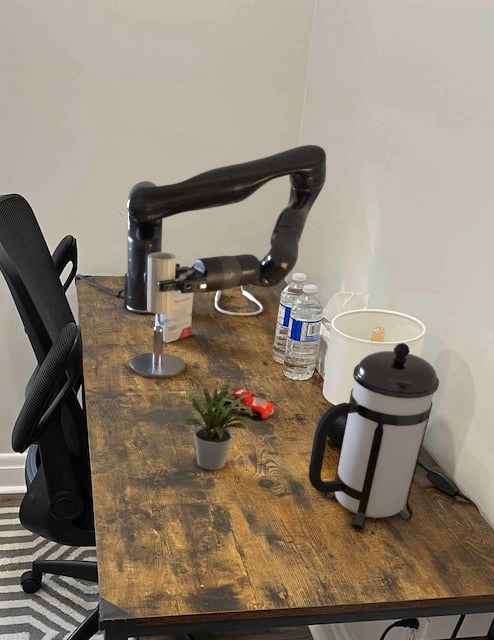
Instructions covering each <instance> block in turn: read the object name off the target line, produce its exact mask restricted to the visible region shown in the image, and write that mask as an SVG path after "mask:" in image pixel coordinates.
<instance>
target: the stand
mask: <svg viewBox="0 0 494 640" xmlns="http://www.w3.org/2000/svg"><path fill="white" fill-rule="evenodd" d="M152 341H153V344H152V349H153V350H152V352H147V353H142V354H138V355H135V356H134V357H133V358H131V360H130V361H129V369H130V370H131V371H132V372H133V373H135V375H139V376H140V377H141V376H142V377H145V378H151V379H167V378H172V377H176V376H179V375H181V374H182V373H183V372H184V371H185V370H186V363H185V362H184V360H183V359H182V358H180V356H179V357H178V356H176V355H175V354H170V353H165V352H163V351H164V350H163V349H164V341H163V328H162V327H161V326H156V327H155V326H154V328H153V339H152Z"/></svg>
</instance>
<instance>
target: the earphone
mask: <svg viewBox="0 0 494 640" xmlns="http://www.w3.org/2000/svg"><path fill="white" fill-rule="evenodd" d="M256 257H257V259H258V260H259V261H260V260H261V259H259V257H258V256H256ZM240 289H241V292H242V295H243V296H244V297H246V298H247V299H248V300H250V301H252V302H254V303H256V305H258V306H259V309H258V310H257V311H251V312H233V311H227V310H224V309H222V308H221V307H219V305H218V303H219V301H220V298H221V296H222V290H218V291H216V294H215V297H214V301H215V302H214V307H215V308H216V310H217V311H218V312H220V313H222V314H225V315H229V316H255V315H259V314H261V313H262V312H263V310H264V307H263V304H262V303H261V302H260V301H259V300H258V299H256V298H255V296H254V295H253V294H251V293H250V292H248V291H247V290H244V289H243V286H240Z"/></svg>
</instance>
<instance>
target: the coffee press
mask: <svg viewBox="0 0 494 640" xmlns="http://www.w3.org/2000/svg"><path fill="white" fill-rule="evenodd" d="M410 352H411V351H410V347H409V345H408V344H406V343H404V342H400V343H397V344H396V345H395V347H394V348H393V350H382V351H377V352H372V353H371V354H368V355H366V356H365V357H363V358H362V359H361V360H360V362H359V363H358V364H356V366H355V367H354V368H353V373H352V377H353V380H354V382H353V387H352V389H351V390H350V396H349V400H348V402H341V403H338V404H336V405H333V406H332V407H330V408H328V409H327V410H326V411H325V412H324V414H323V415H322V416H321V417H320V419H319V421H318V423H317V425H316V428H315V432H314V437H313V442H312V448H311V453H310V460H309V467H308V480H309V483H310V484H311V486H312V487H313V488H314V489H315V490H316V491H317V492H320V493H324V497H325V499H328V500H332V499H334V498H336V499H337V502H339V504H340V505H341V506H342V507H344V508H345V509H346V510H348V511H349V512H351V513H353V514H356V516H355V520H354V523H353V528H355V529H359V530H363V527H364V524H365V521H366V518H374V519H375V518H376V519H380V518H382V519H383V518H389V517H392V516H395V515H396V514H399V516H400V517H401V518H402V519H403V520H404V521H410V520H411V519H412V517H413V510H412V508H411V505H410V503H409V499H410V495H411V491H412V487H413V483H414V479H415V475H416V471H417V467H418V464H419V459H420V455H421V452H422V449H423V445H424V440H425V436H426V432H427V429H428V425H429V420H430V417H431V412H432V410H433V398H434V394H435V393H436V392H437V391H438V388H439V385H440V379H439V378H438V376H437V371H436V369H435V368H434V366H432V364H431V363H430V362H428V361H427V360H426V359H424V358H422V357H420V356H418V355H415V354H412V353H410ZM344 416H346V417H345V421H344V428H343V433H342V439H341V442H340V443H341V444H340V449H339V455H338V460H337V465H336V470H335V475H334V480H330V481H329V480H328V481H324V480H322V470H323V463H324V456H325V451H326V447H327V446H326V445H327V441H328V440H327V439H328V435H329V430H330V429H331V427H332V425H333V423H335V421H336V420H338V419H340V418H341V417H344ZM331 493H334V494H331ZM404 508H406V510H407V512H408V514H409V515H407V514H405V513H404V511H403V509H404Z"/></svg>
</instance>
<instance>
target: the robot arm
mask: <svg viewBox="0 0 494 640" xmlns="http://www.w3.org/2000/svg"><path fill="white" fill-rule="evenodd" d="M286 176H288V177H289V185H290V190H289V198H288V202H287V205H286V206H285V207H284V208H283V209H282V210H281V212H280V213H279V214H278V216H277V218H276V221H275V223H274V226H273V229H272V232H271V235H270V239H269V240H270V241H269V242H270V243H269V244H270V249H269V250H268V251H267V253H266V254H265V255H264V257H262V259H259V258H258V259H259V260H260V261H259V260H258V259H257V257H258V256H256V255H254V254H251V253H244V254H236V255H235V254H234V255H219V256H209V257H202V258H201V257H200V258H197V259H196V260H195V261H194V262H193V264H192V266H191V267H190V266H186V265H185V266H181V264H180V263H176V269H175V281H174V280H165V281H159V282H158V291H159V292H166V291H173V290H174V291H177V292H178V291H181V293H183V294H184V293H193V294H194V293H202V294H203V293H210V292H211V293H212V292H217V291H219V290H220V291H225V290H230V289H232V288H238V287H241V286H242V287H245V286H249V285H250V286H253V287H262V288H272V287H275V286H277V285H280V284H281V283H282V282H283V281H284V280H285V279H286V278H287V276H288V275H289V274H291V272H292V271H293V270H294V268H295V267H296V264H297V262H298V258H299V244H300V242H301V239H302V236H303V233H304V230H305V226H306V223H307V219H308V217H309V214H310V212H311V210H312V208H313V206H314V204H315V202H316V200H317V199H318V198H319V196H320V194H321V192H322V190H323V189H324V185H325V183H326V179H327V153H326V150H325V149H324V148H323V147H321V146H320V145H316V144H305V145H300V146H297V147H292V148H290V149H287V150H284V151H281V152H278V153H274V154H272V155H268V156H264V157H262V158H257V159H254V160H253V159H252V160H249V161H244V162H240V163H235V164H229V165H225V166H220V167H216V168H212V169H209V170H205V171H202V172H200V173H198V174H196V175H193V176H192V177H189V178H187V179H185V180H183V181H179V182H176V183H175V182H174V183H171V184H164V185H157V184H155V183H154V182H152V181H149V180H143V181H139V182H137V183H136V184H134V185H133V186H132V187H131V189H130V191H129V193H128V196H127V203H126V204H127V205H126V208H127V239H126V240H127V263H126V264H127V267H126V269H127V272H126V273H125V274H124V275H123V276H124V277H123V287H120V288H119V289H118V290H117V292H114V291H112V290H110V289H108V288H107V287H105V286H103V285H101V284H98V283H95V282H93V281H91V280H89V279H86V277H84V276H83V275H82V274H81V273H77V274H76V275H75V276H76V277H75V276H74V279H80V280H82V282H84V283H85V284H88V285H90V286H92V287H94V288H96V289H99V290H102V291H104V292H105V293H107V294H109V295H111V296H114V297H120V296H121V295H122V292H123V293H124V295H123V298H124V299H123V307H124V309H127V310H128V311H129V312H131V313H135V314H144V315H145V314H146V315H147V314H152V313H151V312H149V311H148V310H147V290H148V255H149V254H151V253H157V252H163V251H162V249H163V248H162V247H163V220H164V219H166V218H169V217H172V216H175V215H178V214H182V213H183V214H184V213H187V212H194V211H201V210H202V211H203V210H207V209H213V208H220V207H224V206H229V205H234V204H239V203H241V202H243V201H245V200H247V199H248V198H250V197H251V196H252V195H254V194H255V193H256V192H257V191H259V190H260V189H261V188H262V187H263V186H264V185H266V184H268V183H269V182H271V181H273V180H276V179H279V178H282V177H286Z"/></svg>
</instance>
